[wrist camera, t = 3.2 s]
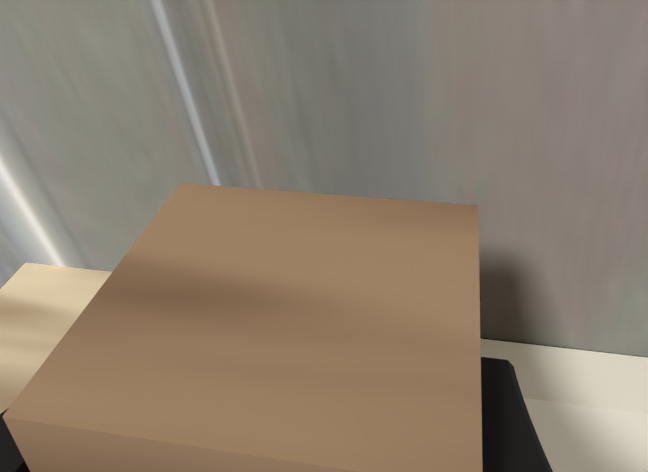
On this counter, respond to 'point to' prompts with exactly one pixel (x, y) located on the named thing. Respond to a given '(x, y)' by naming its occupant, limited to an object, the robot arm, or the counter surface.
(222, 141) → the counter surface
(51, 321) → the maple block
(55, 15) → the counter surface
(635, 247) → the counter surface
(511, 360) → the base
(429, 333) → the walnut block
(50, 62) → the counter surface
